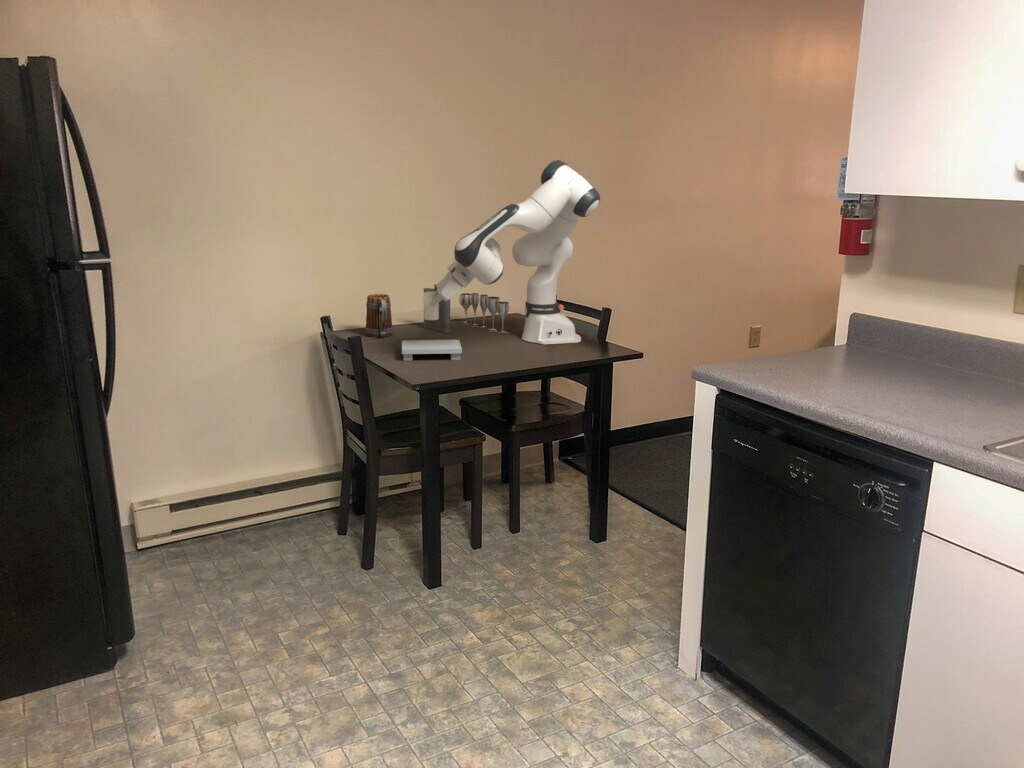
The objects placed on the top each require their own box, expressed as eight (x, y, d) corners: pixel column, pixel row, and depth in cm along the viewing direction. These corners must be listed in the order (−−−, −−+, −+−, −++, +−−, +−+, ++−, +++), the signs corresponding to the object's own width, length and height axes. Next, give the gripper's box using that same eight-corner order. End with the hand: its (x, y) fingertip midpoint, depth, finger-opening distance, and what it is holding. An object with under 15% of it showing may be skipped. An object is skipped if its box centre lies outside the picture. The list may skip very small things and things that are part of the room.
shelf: (459, 350, 286) (459, 339, 285) (461, 360, 273) (461, 349, 271) (402, 351, 283) (401, 340, 282) (402, 361, 270) (401, 349, 269)
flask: (429, 326, 324) (429, 281, 319) (453, 332, 315) (453, 286, 310) (422, 327, 322) (422, 282, 317) (446, 333, 312) (446, 287, 307)
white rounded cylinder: (438, 317, 277) (438, 291, 274) (439, 320, 272) (438, 293, 270) (423, 317, 276) (423, 291, 274) (424, 320, 271) (423, 293, 269)
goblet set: (512, 332, 317) (512, 299, 313) (501, 334, 313) (501, 300, 309) (466, 321, 336) (467, 289, 333) (456, 322, 333) (456, 290, 329)
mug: (362, 332, 311) (361, 294, 307) (389, 331, 315) (389, 292, 311) (371, 341, 297) (369, 301, 293) (399, 339, 301) (398, 299, 297)
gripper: (451, 263, 280) (423, 291, 282) (455, 271, 261) (425, 301, 262) (464, 276, 282) (436, 304, 283) (468, 285, 263) (439, 315, 264)
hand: (431, 303), depth 273 cm, fingers closed on white rounded cylinder, 5 cm apart
